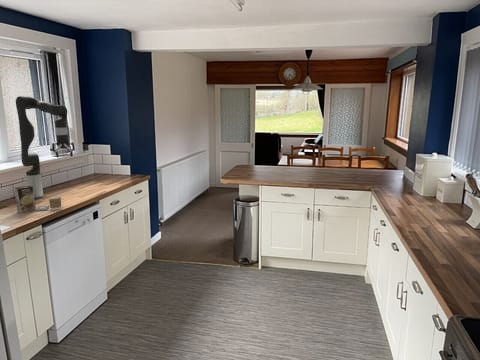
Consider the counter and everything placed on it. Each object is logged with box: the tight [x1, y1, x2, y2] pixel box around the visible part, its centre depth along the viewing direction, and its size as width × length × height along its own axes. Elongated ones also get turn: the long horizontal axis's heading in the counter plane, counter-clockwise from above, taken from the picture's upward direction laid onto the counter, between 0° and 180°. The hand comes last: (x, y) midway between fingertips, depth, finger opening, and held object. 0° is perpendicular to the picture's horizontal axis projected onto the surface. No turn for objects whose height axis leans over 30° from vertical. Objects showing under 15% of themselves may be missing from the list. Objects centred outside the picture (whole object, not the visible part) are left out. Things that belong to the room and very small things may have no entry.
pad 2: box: [48, 203, 64, 211], centre depth 241 cm, size 10×7×1 cm
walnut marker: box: [48, 195, 62, 208], centre depth 240 cm, size 6×6×6 cm
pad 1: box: [34, 204, 50, 213], centre depth 238 cm, size 10×7×1 cm
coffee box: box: [14, 185, 37, 214], centre depth 234 cm, size 9×6×16 cm
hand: (64, 157), depth 252 cm, fingers open, 8 cm apart
